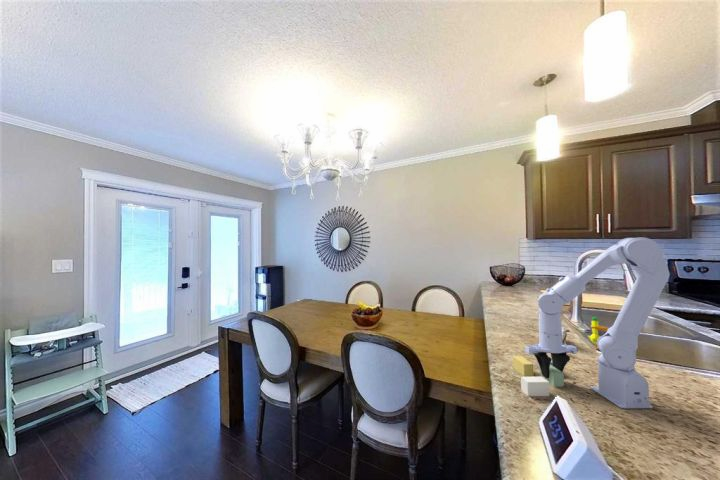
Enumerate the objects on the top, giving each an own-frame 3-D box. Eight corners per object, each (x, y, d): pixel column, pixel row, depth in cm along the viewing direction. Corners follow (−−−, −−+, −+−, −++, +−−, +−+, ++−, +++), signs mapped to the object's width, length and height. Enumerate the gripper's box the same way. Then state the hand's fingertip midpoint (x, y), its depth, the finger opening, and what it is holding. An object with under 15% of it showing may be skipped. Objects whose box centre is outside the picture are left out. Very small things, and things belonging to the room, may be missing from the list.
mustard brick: (533, 376, 82) (533, 364, 82) (524, 376, 82) (523, 364, 82) (521, 367, 88) (521, 356, 88) (513, 367, 88) (512, 356, 88)
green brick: (563, 386, 76) (563, 373, 76) (553, 386, 76) (553, 373, 76) (549, 376, 82) (549, 363, 82) (539, 376, 82) (539, 363, 82)
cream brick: (542, 390, 75) (541, 376, 75) (549, 396, 72) (549, 381, 72) (521, 390, 75) (520, 376, 75) (527, 396, 72) (527, 382, 72)
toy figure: (610, 349, 102) (609, 318, 102) (609, 351, 99) (608, 320, 99) (587, 344, 106) (586, 315, 107) (586, 347, 104) (585, 317, 104)
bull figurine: (559, 349, 102) (559, 328, 102) (546, 337, 115) (545, 319, 115) (572, 350, 101) (572, 329, 101) (557, 338, 114) (557, 319, 114)
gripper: (563, 327, 83) (564, 369, 83) (518, 328, 83) (519, 370, 83) (582, 335, 76) (583, 381, 76) (533, 336, 76) (534, 382, 76)
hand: (551, 376), depth 79 cm, fingers closed on green brick, 3 cm apart
